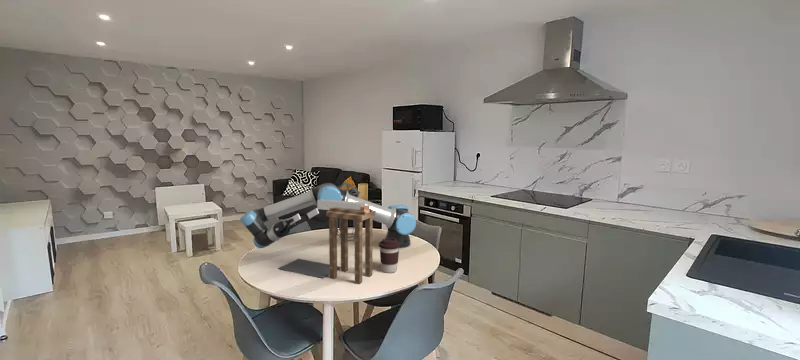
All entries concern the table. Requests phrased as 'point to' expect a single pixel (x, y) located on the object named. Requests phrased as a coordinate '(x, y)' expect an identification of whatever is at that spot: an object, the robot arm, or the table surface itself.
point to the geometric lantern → (339, 218)
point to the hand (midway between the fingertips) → (308, 213)
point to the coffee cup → (389, 254)
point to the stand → (345, 214)
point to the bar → (338, 204)
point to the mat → (308, 268)
